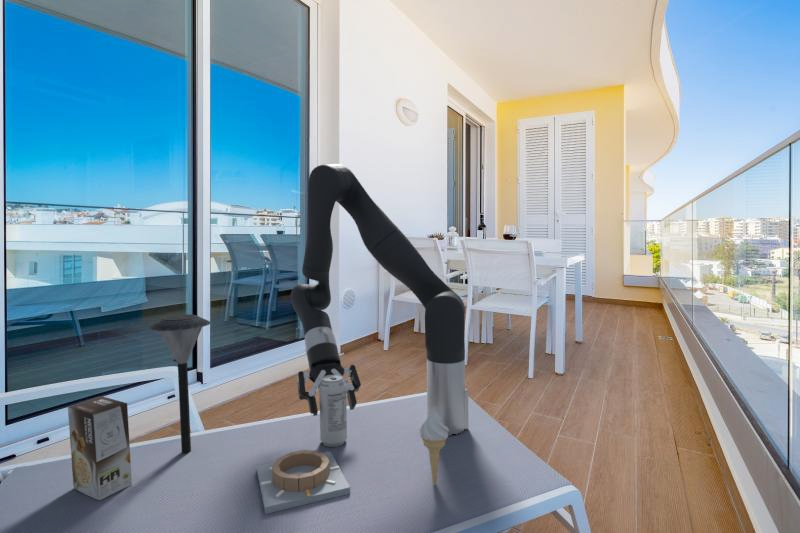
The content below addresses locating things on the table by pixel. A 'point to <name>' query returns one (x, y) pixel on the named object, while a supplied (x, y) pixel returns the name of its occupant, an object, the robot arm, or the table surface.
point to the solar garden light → (182, 359)
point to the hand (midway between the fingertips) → (334, 411)
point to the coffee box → (100, 446)
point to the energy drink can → (333, 410)
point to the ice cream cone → (434, 439)
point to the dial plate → (300, 480)
